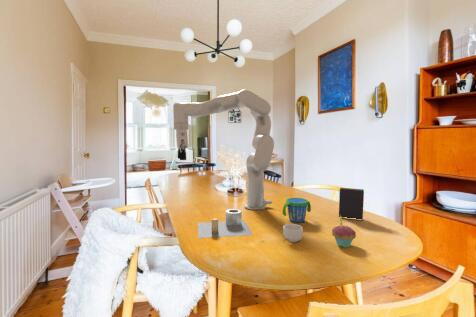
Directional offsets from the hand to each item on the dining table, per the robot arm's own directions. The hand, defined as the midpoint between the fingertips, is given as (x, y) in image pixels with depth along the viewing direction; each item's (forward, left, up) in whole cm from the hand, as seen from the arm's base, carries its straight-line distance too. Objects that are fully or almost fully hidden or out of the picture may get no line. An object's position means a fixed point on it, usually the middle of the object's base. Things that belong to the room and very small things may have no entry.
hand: (181, 159), depth 140 cm
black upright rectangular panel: (-84, +23, -29) cm, 92 cm away
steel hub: (-24, +27, -28) cm, 45 cm away
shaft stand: (-19, +32, -29) cm, 47 cm away
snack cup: (-56, +22, -29) cm, 67 cm away
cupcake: (-63, +52, -29) cm, 87 cm away
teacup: (-46, +44, -29) cm, 70 cm away
